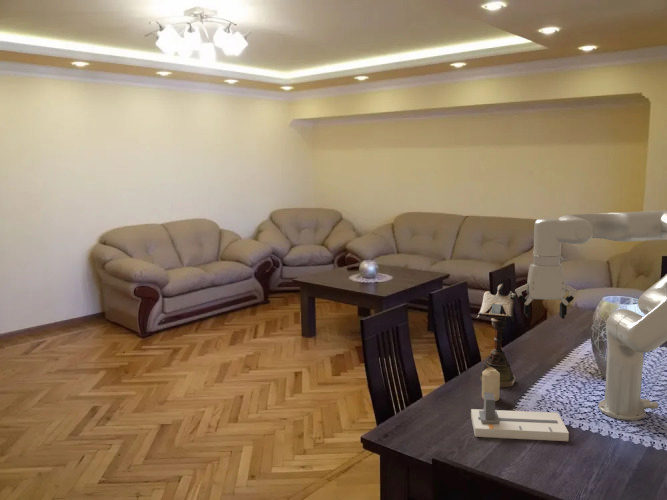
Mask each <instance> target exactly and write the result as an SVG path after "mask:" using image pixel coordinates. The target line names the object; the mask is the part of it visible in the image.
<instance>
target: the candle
mask: <svg viewBox="0 0 667 500" xmlns="http://www.w3.org/2000/svg"><path fill="white" fill-rule="evenodd" d="M482 371H483V370H482ZM482 371H481V373H482V381H481V399H482V400H484V392H489V393H493V395H494V398H495V402H497V401H499V400H500V388H501V387H500V373H499V372H498V371H497V370H496V369H494V368H493V367H491V368H487V369H485V370H484V371H483V372H482Z"/></svg>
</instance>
